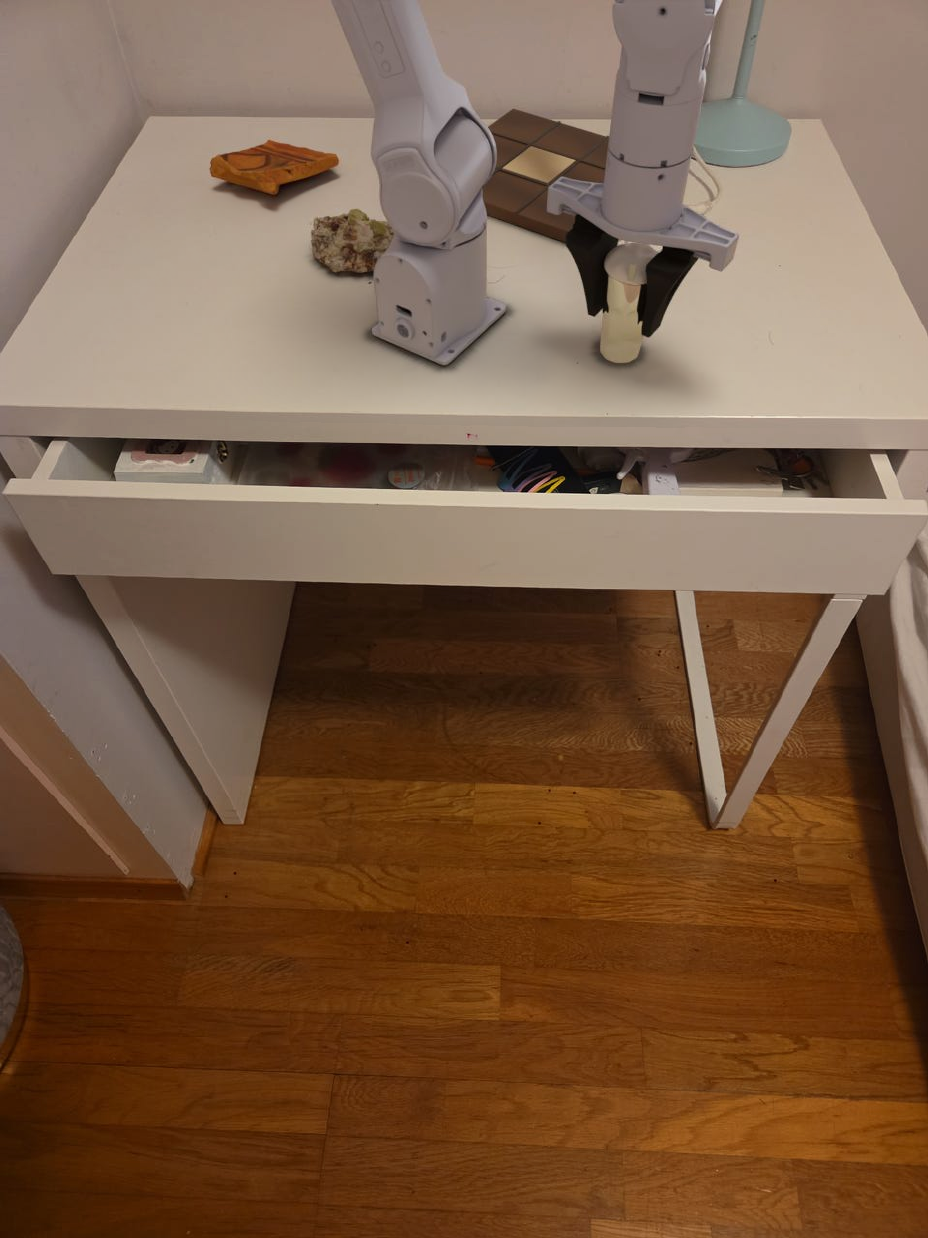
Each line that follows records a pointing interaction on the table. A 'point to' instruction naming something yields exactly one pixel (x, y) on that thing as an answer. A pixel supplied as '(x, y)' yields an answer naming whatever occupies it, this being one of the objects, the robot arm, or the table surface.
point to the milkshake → (624, 301)
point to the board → (539, 169)
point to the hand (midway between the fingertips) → (624, 319)
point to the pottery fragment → (270, 165)
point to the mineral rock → (350, 241)
